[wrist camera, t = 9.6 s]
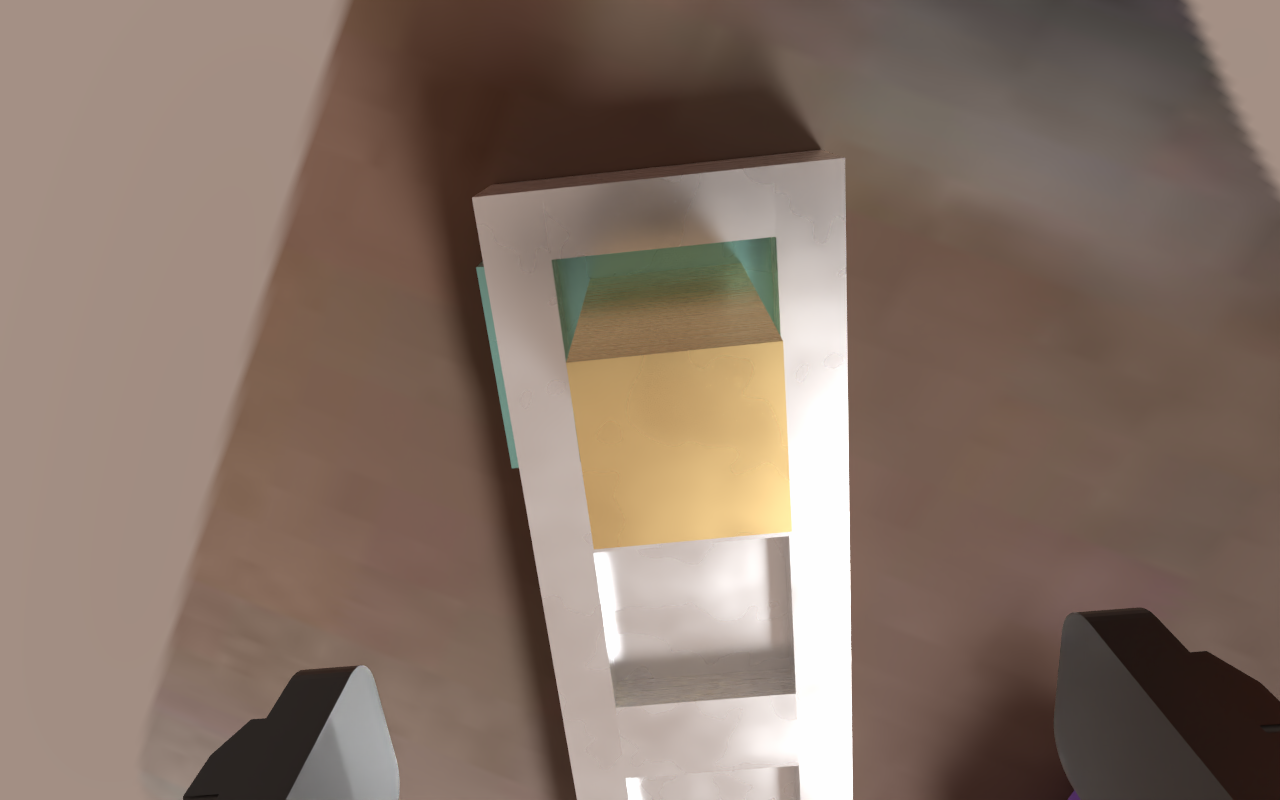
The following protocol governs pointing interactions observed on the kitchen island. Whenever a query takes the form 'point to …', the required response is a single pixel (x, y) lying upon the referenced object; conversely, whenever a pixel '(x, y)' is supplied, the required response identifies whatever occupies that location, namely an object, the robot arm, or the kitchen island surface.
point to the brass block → (680, 408)
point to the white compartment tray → (701, 569)
